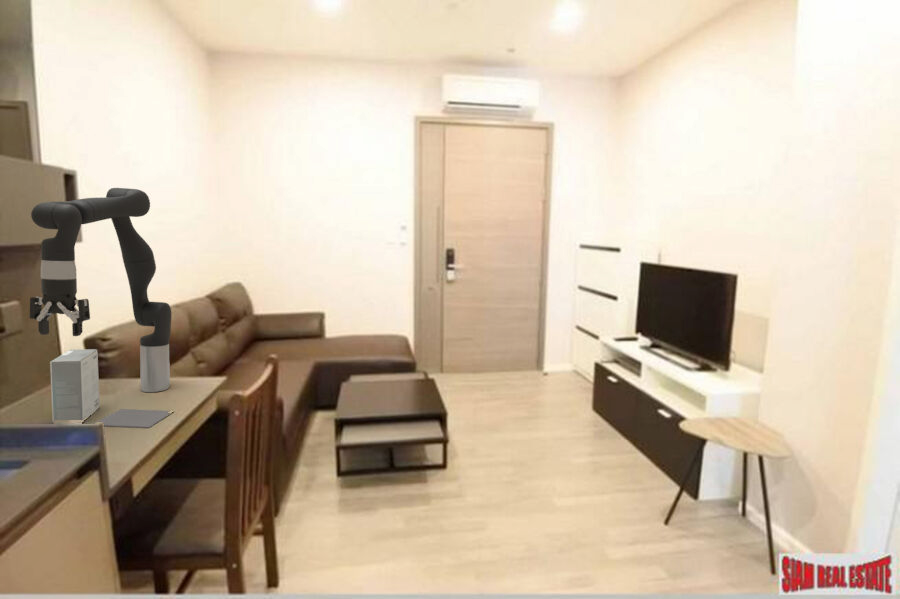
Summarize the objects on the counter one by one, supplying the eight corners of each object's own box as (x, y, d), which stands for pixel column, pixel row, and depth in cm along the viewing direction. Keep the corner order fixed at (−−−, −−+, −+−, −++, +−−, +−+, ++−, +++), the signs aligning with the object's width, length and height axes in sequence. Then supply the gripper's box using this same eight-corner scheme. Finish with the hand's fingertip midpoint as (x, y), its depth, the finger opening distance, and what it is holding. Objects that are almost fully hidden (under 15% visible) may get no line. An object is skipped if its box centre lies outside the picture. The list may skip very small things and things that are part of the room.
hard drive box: (72, 408, 153) (70, 349, 151) (100, 407, 156) (99, 348, 154) (51, 426, 139) (49, 360, 137) (82, 424, 141) (81, 360, 139)
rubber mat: (121, 409, 155) (121, 408, 155) (174, 412, 156) (174, 410, 156) (91, 425, 141) (91, 424, 141) (149, 428, 142) (149, 426, 142)
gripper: (95, 277, 133) (96, 333, 134) (42, 274, 132) (44, 331, 133) (76, 279, 125) (77, 339, 127) (19, 276, 124) (22, 336, 126)
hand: (60, 335), depth 130 cm, fingers open, 8 cm apart
